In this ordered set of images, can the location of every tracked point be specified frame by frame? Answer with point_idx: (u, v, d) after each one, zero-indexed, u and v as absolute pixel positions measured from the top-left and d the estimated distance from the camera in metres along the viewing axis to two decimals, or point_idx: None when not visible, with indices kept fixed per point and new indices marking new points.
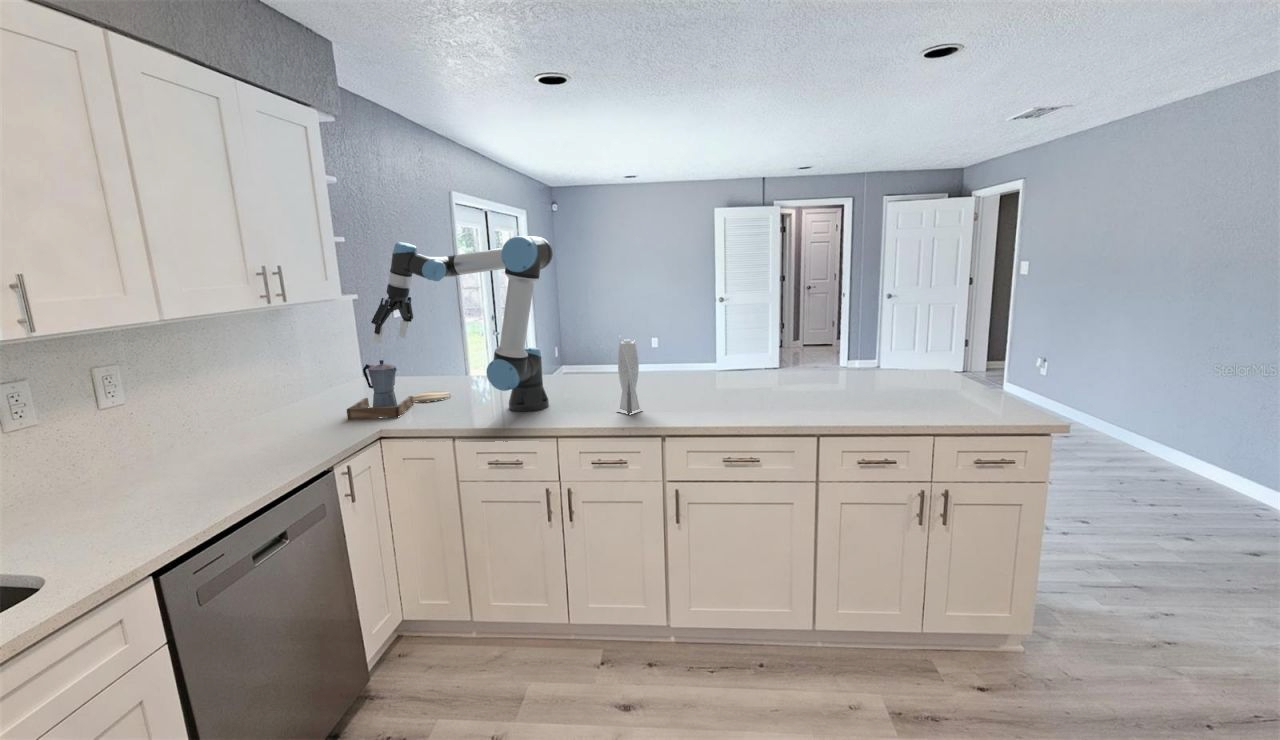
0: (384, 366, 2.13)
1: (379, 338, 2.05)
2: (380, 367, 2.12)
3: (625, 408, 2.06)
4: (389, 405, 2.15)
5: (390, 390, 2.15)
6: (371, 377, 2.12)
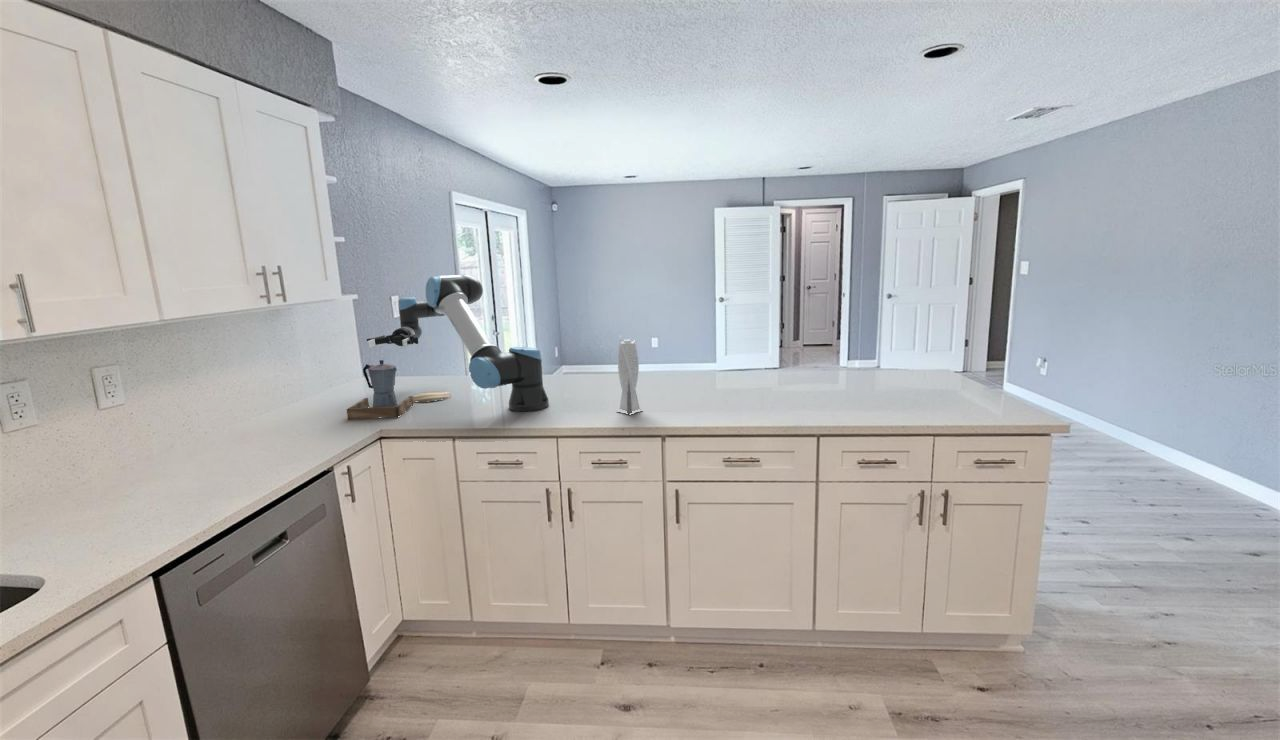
0: (384, 366, 2.13)
1: None
2: (380, 367, 2.12)
3: (625, 408, 2.06)
4: (389, 405, 2.15)
5: (390, 390, 2.15)
6: (371, 377, 2.12)
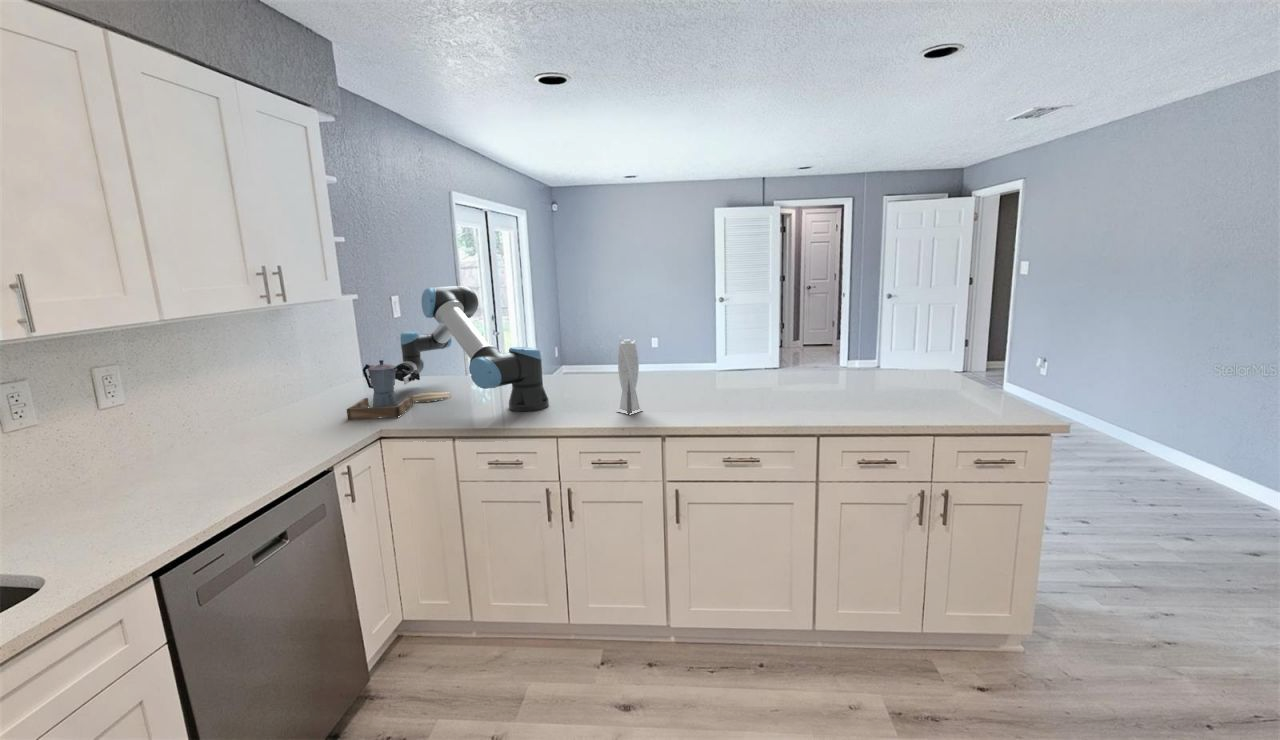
0: (384, 366, 2.13)
1: None
2: (380, 367, 2.12)
3: (625, 408, 2.06)
4: (389, 405, 2.15)
5: (390, 390, 2.15)
6: (371, 377, 2.12)
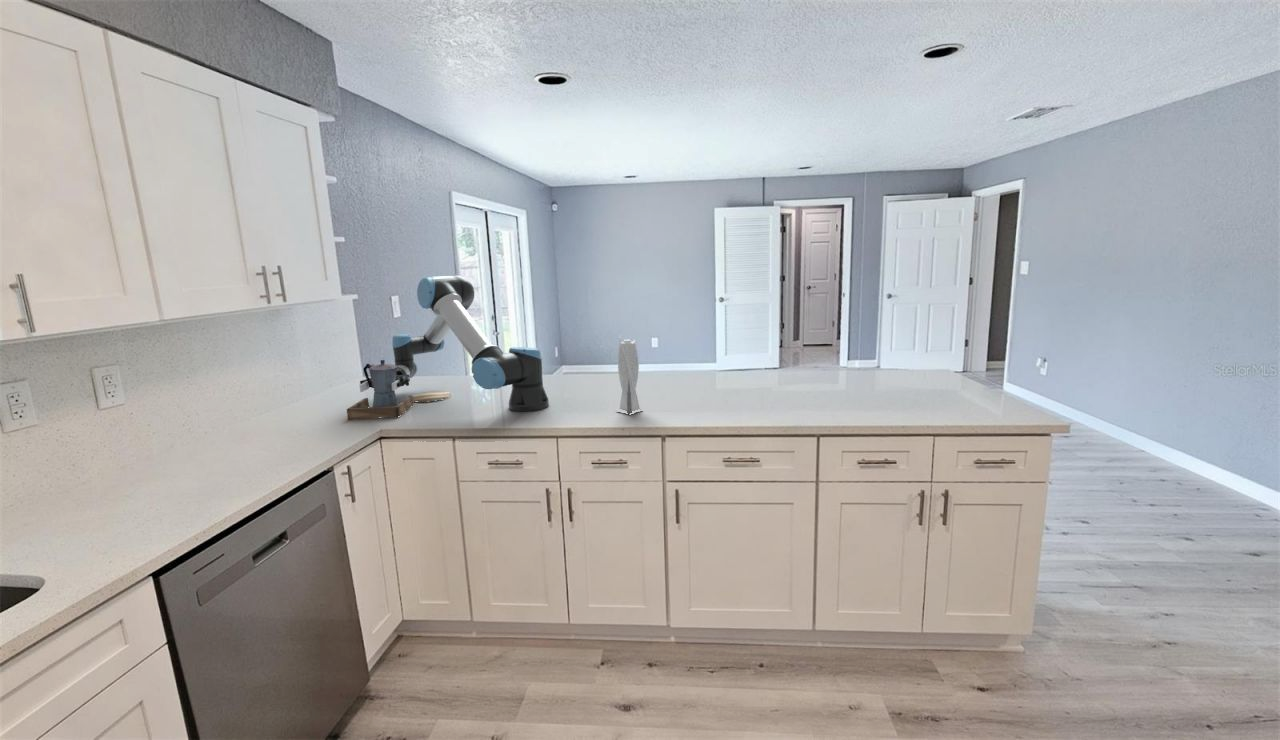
0: (385, 366, 2.12)
1: None
2: (381, 367, 2.11)
3: (625, 408, 2.06)
4: (389, 405, 2.15)
5: (390, 390, 2.15)
6: (372, 377, 2.12)
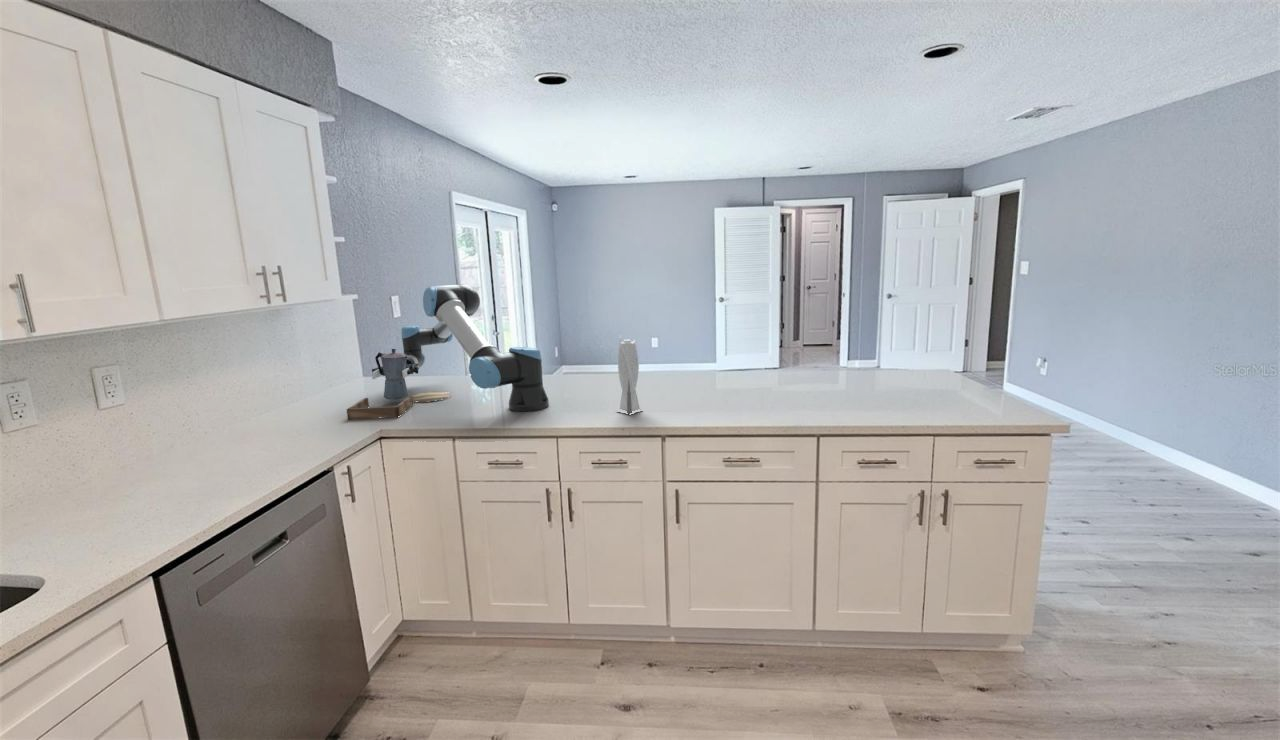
0: (396, 355, 2.24)
1: None
2: (392, 355, 2.23)
3: (625, 408, 2.06)
4: (400, 392, 2.26)
5: (401, 377, 2.26)
6: (383, 364, 2.23)
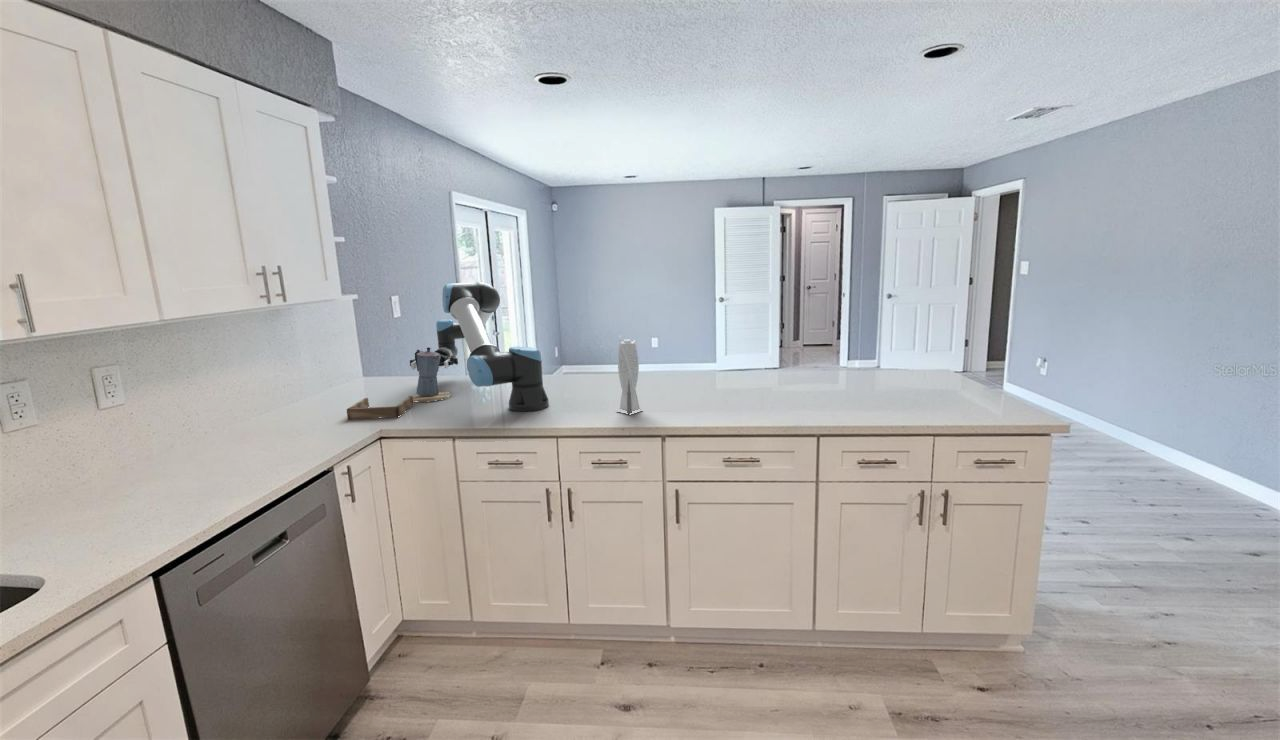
0: (429, 353, 2.32)
1: None
2: (425, 353, 2.32)
3: (625, 408, 2.06)
4: (429, 389, 2.34)
5: (432, 375, 2.34)
6: (417, 361, 2.33)
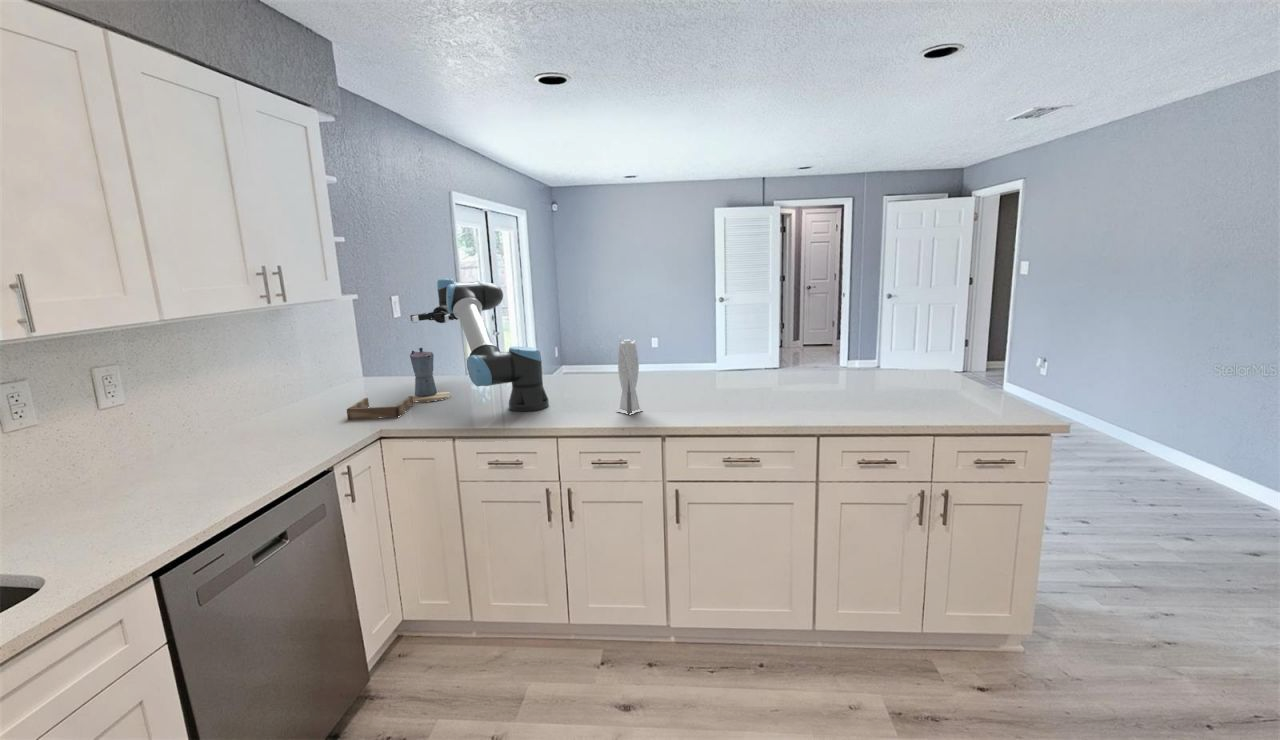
0: (421, 354, 2.33)
1: None
2: (417, 354, 2.33)
3: (625, 408, 2.06)
4: (425, 389, 2.35)
5: (426, 375, 2.35)
6: None
